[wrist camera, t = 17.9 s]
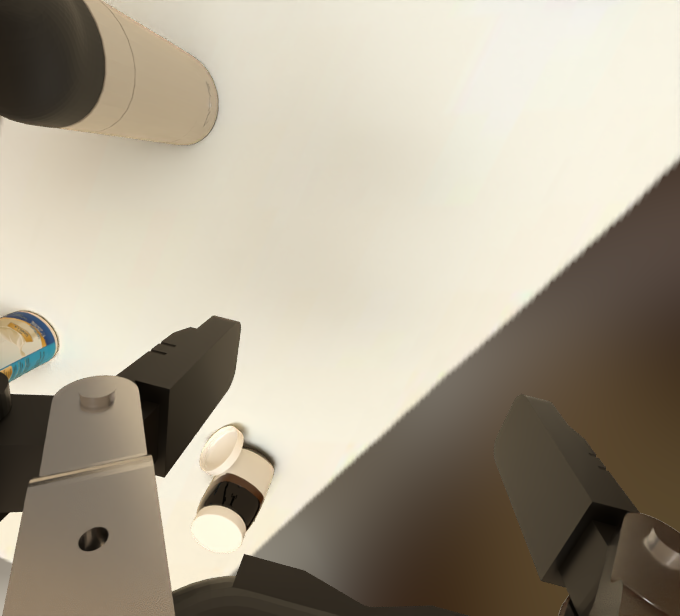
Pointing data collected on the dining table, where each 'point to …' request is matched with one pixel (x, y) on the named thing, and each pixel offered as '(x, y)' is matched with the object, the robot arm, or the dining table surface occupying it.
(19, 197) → the dining table surface
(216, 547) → the spread jar
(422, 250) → the dining table surface
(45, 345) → the beverage bottle
